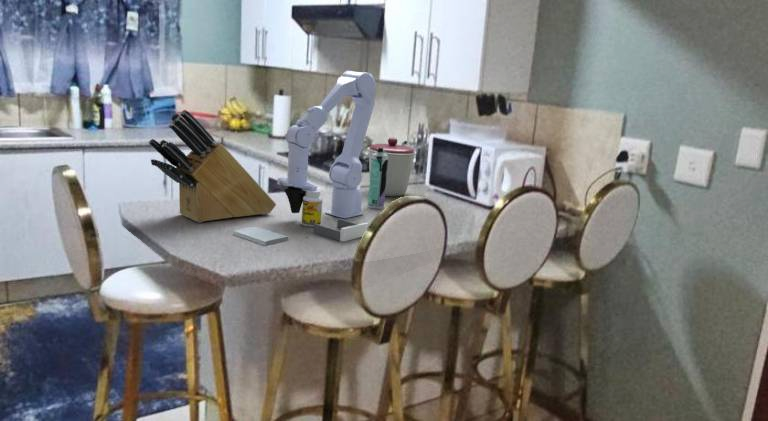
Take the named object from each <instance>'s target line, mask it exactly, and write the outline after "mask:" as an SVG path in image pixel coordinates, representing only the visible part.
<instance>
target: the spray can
mask: <svg viewBox="0 0 768 421" xmlns="http://www.w3.org/2000/svg"><path fill="white" fill-rule="evenodd" d="M387 166H388V155H386V154H385V152H384V151H383V148H378V150H377V151H376V153H374V154H372V160H371V172H370V173H369V187H368V201H367V207H368V208H370V209H375V210H376V209H377V210H379V209H381V210H382V209H384V207H385V201H386V200H385V198H386V196H385V189H386V178H387Z"/></svg>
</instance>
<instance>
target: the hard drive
mask: <svg viewBox="0 0 768 421" xmlns="http://www.w3.org/2000/svg"><path fill="white" fill-rule="evenodd" d="M232 235H233V236H237V237H240V238H243V239H244V240H248V241H251V242H253V243H256V244H260V245H262V246H268V245H274V244H277V243H282V242H287V241H289V236H286V235H283V234H281V233H278V232H274V231H271V230H268V229H266V228H262V227H259V226H250V227H245V228H240V229H235V230H234V231H232Z"/></svg>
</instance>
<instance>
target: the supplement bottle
mask: <svg viewBox="0 0 768 421" xmlns="http://www.w3.org/2000/svg"><path fill="white" fill-rule="evenodd" d="M301 208H302V209H301V211H302V212H301V225H302V226H304V227H309V228H311V227H312V228H313V227H314V224H315V223H317V224H320V225H322V224H321V223H322V212H323V210H322V209H323V197H322V196H321V190H319V189H317V191H310V190H309V189H308V190H306V196H304V197H303V203H302V206H301Z"/></svg>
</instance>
